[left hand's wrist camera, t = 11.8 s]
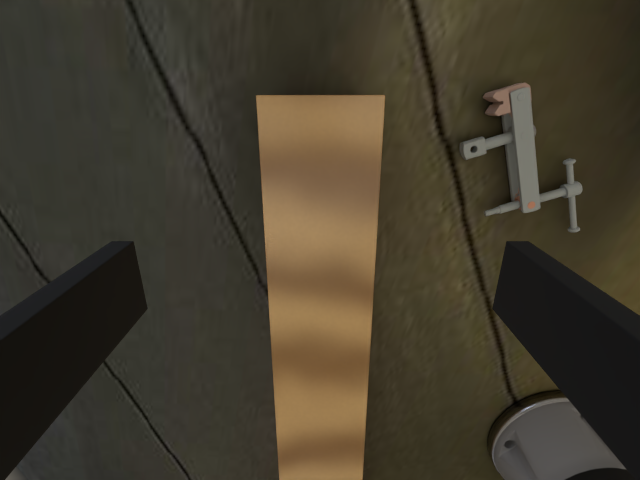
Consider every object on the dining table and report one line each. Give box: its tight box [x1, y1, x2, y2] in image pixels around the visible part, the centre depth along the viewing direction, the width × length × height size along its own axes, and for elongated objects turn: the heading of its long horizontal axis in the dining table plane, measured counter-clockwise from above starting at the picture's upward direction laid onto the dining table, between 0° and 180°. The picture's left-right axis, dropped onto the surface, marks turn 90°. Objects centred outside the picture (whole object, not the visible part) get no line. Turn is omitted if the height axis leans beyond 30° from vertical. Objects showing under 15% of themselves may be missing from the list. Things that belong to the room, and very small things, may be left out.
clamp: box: [460, 83, 582, 232], centre depth 33 cm, size 15×2×10 cm
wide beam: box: [256, 95, 385, 480], centre depth 40 cm, size 67×9×8 cm, turn 0°
